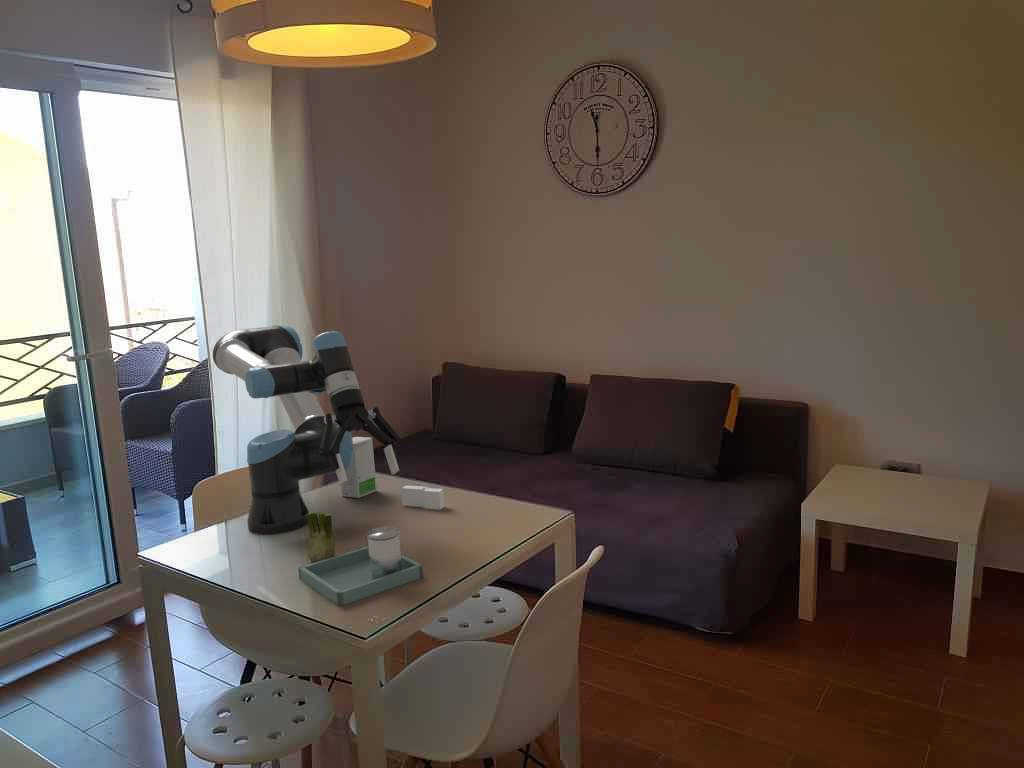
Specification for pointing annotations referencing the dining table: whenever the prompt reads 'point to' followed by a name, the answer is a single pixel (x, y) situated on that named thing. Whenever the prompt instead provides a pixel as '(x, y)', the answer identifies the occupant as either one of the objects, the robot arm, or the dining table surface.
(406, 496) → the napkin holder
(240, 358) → the robot arm
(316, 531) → the fennel bulb
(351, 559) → the tray
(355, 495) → the skincare box
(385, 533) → the can
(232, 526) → the dining table surface
